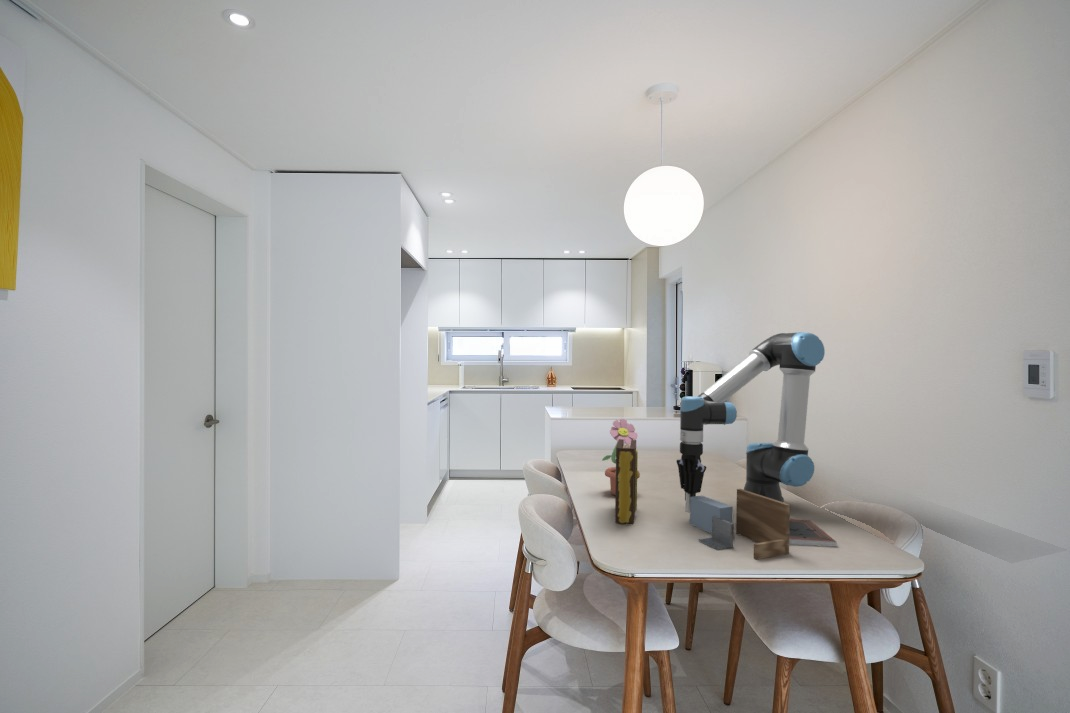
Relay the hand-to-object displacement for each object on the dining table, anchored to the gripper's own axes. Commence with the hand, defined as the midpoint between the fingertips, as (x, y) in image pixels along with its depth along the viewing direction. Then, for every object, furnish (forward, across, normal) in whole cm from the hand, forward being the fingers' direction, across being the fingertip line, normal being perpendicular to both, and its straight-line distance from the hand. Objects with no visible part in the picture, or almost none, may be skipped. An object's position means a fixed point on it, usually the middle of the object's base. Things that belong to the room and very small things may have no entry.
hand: (690, 511), depth 185 cm
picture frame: (+4, +22, +23) cm, 32 cm away
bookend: (+3, +22, -8) cm, 23 cm away
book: (+3, -13, -17) cm, 22 cm away
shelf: (+3, +26, 0) cm, 26 cm away
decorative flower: (+3, -37, -4) cm, 38 cm away
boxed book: (+3, +10, 0) cm, 10 cm away
